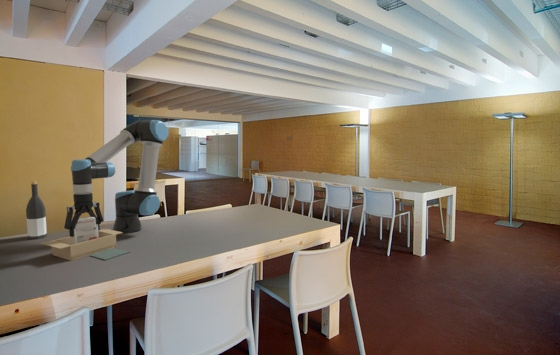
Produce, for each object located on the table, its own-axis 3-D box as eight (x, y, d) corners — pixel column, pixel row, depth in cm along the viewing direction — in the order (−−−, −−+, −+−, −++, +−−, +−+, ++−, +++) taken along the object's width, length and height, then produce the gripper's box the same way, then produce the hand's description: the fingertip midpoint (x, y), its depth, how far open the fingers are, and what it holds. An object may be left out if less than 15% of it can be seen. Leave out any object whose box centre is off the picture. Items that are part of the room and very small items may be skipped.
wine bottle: (28, 240, 165) (24, 182, 162) (27, 236, 171) (24, 181, 168) (47, 237, 170) (44, 181, 167) (46, 234, 176) (43, 180, 173)
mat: (114, 248, 154) (114, 247, 154) (129, 252, 149) (129, 251, 149) (90, 255, 143) (90, 255, 143) (105, 260, 138) (105, 259, 138)
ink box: (95, 239, 155) (94, 215, 153) (97, 242, 151) (96, 217, 150) (74, 243, 149) (72, 218, 148) (75, 245, 145) (74, 220, 144)
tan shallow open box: (105, 240, 166) (104, 228, 166) (123, 245, 159) (123, 232, 159) (42, 257, 141) (41, 243, 140) (61, 263, 134) (60, 248, 133)
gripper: (100, 189, 159) (103, 233, 161) (52, 195, 139) (55, 245, 142) (110, 190, 155) (112, 235, 158) (61, 197, 136) (65, 248, 138)
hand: (85, 240), depth 150 cm, fingers closed on ink box, 9 cm apart
